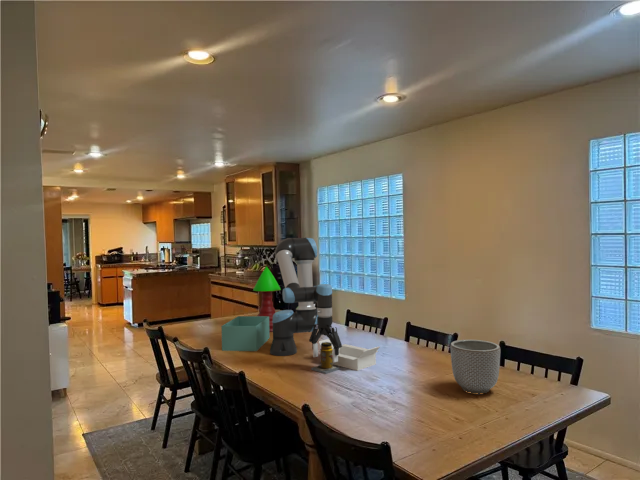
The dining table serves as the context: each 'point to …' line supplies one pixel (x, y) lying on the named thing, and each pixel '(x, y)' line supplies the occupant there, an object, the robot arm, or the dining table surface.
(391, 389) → the dining table surface
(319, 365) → the coaster
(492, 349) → the planter
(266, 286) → the table lamp
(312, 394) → the dining table surface
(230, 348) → the box
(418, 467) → the dining table surface
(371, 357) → the carton
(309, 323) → the robot arm
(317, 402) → the dining table surface
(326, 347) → the condiment
